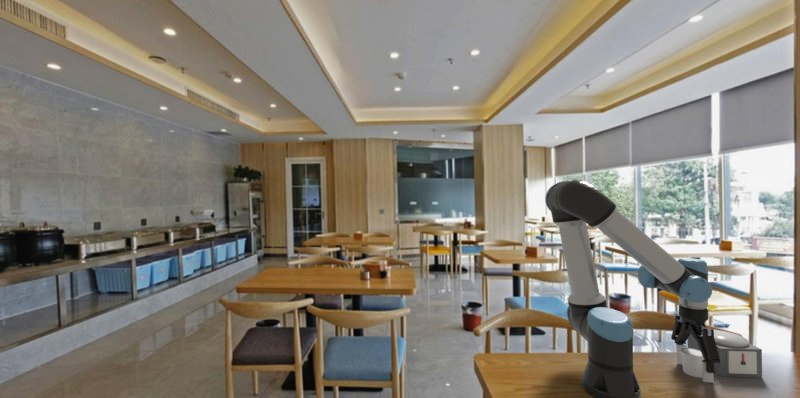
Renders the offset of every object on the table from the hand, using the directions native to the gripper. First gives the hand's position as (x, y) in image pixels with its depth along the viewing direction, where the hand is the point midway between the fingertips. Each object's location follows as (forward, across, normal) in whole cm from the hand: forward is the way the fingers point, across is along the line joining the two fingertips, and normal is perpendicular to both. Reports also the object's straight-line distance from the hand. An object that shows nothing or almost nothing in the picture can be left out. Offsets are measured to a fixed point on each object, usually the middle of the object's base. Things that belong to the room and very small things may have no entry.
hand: (694, 372), depth 114 cm
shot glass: (0, 0, 0) cm, 0 cm away
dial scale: (0, +6, -13) cm, 14 cm away
